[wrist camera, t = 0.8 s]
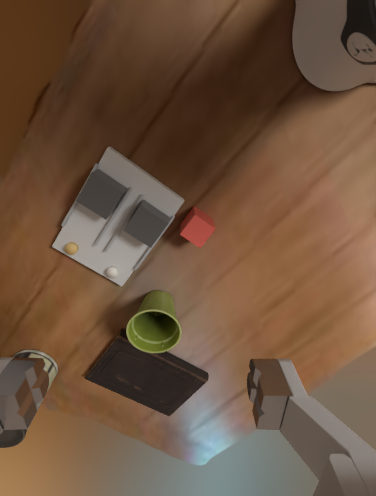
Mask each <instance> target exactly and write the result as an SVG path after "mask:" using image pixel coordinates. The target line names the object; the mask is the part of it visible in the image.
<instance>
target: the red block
mask: <svg viewBox="0 0 376 496" xmlns="http://www.w3.org/2000/svg"><path fill="white" fill-rule="evenodd" d="M214 230H215V226H214V222H213V219H212V218H210V217H209V216H207V215H206V214H205V213H203V212H202V211H200V210H199V209H198V208H196V207H195V206H194V207H193V208H192V209H191V211H190V212H189V213H188V215H187V216H186V217H185V219H184V220H183V221H182V223H181V224H180V235H181V236H183V237H184V238H186V239H187V240H189V241H190V242H192V243H193V244H195V245H196V246H198V247H199V248H201V246H202V245H203V244H204V243H205V241H206V240H207V239H208V238H209V237H210V235H211V234H212V233H213V232H214Z"/></svg>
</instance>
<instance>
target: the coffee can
mask: <svg viewBox="0 0 376 496" xmlns="http://www.w3.org/2000/svg"><path fill="white" fill-rule="evenodd" d="M13 357H23V358H43V359H44V362H45V366H44V368H43V369H44V370H45V371H46V372H47V373H48V375H49V386H48V389H49V387H50V385H51V383H52V381H53V379H54V378H55V376H56V374H57V372H58V367H57V364H56V362H55V361H54V359H53V358H52V357H50V356H49V355H47V354H46V353H44V352H41V351H37V350H22V351H19V352H17V353H16V354H15V355H14V356H13ZM47 391H48V390H47ZM42 401H43V400H42ZM42 401H40V402H39V403H38V404H37V405H36V407H37V410H38V408H39V406H40V404H41V402H42ZM29 426H30V425H29ZM28 428H29V427H28ZM27 430H28V429H18V430H3V432H2V433H1V434H0V448H6V447H12V446H15V445H18V444H19V443H20V442H22V440H23V439H24V437H25V435H26V432H27Z"/></svg>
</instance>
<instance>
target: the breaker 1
mask: <svg viewBox="0 0 376 496" xmlns="http://www.w3.org/2000/svg"><path fill="white" fill-rule="evenodd" d="M126 190H127V188H126V187H125V186H123V185H122V184H120V183H119V182H117V181H116V180H114V179H113V178H111V177H110V176H108V175H107V174H106V173H104V172H103V171H101V170H100V169H98V170H96V171H94V172H92V173H91V175H90V176H89V177H88V179H87V181H86V183H85V184H84V186H83V188H82V190H81V192H80V193H79V196H78V198H77V200H76V201H77V202H78V203H80V204H82V205H83V206H85V207H86V208H88V209H90V210H91V211H93V212H94V213H96V214H98V215H99V216H101V217H102V218H104V219H105V220H106V219H107V218H108V217H109V216H110V215H111V214H112V212H113V211H114V209H115V207H116V206H117V204H118V203H119V201H120V200H121V198H122V196H123V195H124V193H125V192H126Z"/></svg>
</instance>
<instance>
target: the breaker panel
mask: <svg viewBox="0 0 376 496" xmlns="http://www.w3.org/2000/svg"><path fill="white" fill-rule="evenodd" d="M98 169H100V170H101V171H103V172H104V173H106V174H107V175H108V176H110V177H111V178H113V179H114V180H116V181H117V182H119V183H120V184H122V185H123V186H125V187H126V188H127V190H126V192H125V193H124V195H123V196H122V198H121V200H120V201H119V203H118V204H117V206H116V207H115V209H114V211H113V212H112V214H111V215H110V216H109V217H108V218H107V219H106V220H105V219H104V218H102V217H101V216H99V215H98V214H96V213H94V212H93V211H91V210H90V209H88V208H86V207H85V206H83V205H82V204H80V203H78V202H77V201H76V200H77V198H78V196H79V194H78V196H77V198H76V200H75V201H74V203H73V205H72V207H71V209H70V210H69V212H68V214H67V216H66V217H65V219H64V221H63V223H62V225H61V226H63V228H62V229H61V231H60V233H59V235H58V236H57V238H56V240H55V242H54V244H53V245H52V247H53V248H55V249H57V250H59V251H60V252H62V253H64V254H66V255H67V256H69V257H71V258H73V259H74V260H76V261H78V262H80V263H81V264H83V265H85V266H87V267H89V268H90V269H92V270H94V271H96V272H97V273H99V274H101V275H103V276H104V277H106V278H108V279H110V280H111V281H113V282H115V283H117V284H118V285H120V286H123V285H124V283H125V282H126V280H127V279H128V278H129V276H130V275H131V274H132V272H133V271H134V270H137V268H138V267H139V266H140V264H141V263H142V262H143V260H144V259H145V258H146V256H147V255H148V254H149V252H150V251H151V249H152V248H153V247H154V245H155V244H156V243H157V241H158V240H159V239H160V237H161V236H162V235H163V233H164V232H165V230H166V229H167V228H168V226H169V225H170V224H171V222H172V221H173V220H174V218H175V216H174V215H175V214H176V212H177V211H178V209H179V208H180V207H181V205H182V204H183V203H184V198H182V197H181V196H179V195H178V194H177V193H175V192H174V191H172V190H171V189H170V188H168V187H167V186H165V185H164V184H163V183H161V182H160V181H158V180H157V179H155V178H154V177H153V176H151V175H150V174H148V173H147V172H146V171H144V170H143V169H141V168H140V167H139V166H137V165H136V164H134V163H133V162H132V161H130V160H129V159H127V158H126V157H125V156H123V155H122V154H120V153H119V152H118V151H116V150H115V149H113V148H112V147H111V146H110V147H108V148H107V149H106V151H105V153H104V155H103V156H102V158H101V160H100V162H99V164H97V163H96V164H95V166H94V167H93V169H92V171H91V173H92V172H94V171H96V170H98ZM91 173H90V174H89V176H90V175H91ZM89 176H88V177H89ZM87 179H88V178H87ZM86 181H87V180H86ZM85 183H86V182H85ZM85 183H84V184H85ZM83 186H84V185H83ZM82 188H83V187H82ZM81 190H82V189H81ZM80 192H81V191H80ZM80 192H79V193H80ZM143 200H145V201H147V202H148V203H150V204H151V205H153V206H154V207H156V208H157V209H158V210H160V211H161V212H163V213H164V214H166V215H167V216H169V223H168V225H167V226H166V228H165V229H164V230H163V232H162V233H161V235H160V236H159V237H158V239H157V240H156V241H155V243H154V244H153V245H152V247H151V248H150V247H148V246H147V245H145V244H144V243H142V242H140V241H139V240H137V239H136V238H134V237H132V236H131V235H129V234H128V233H126V232H125V231H123V230H124V229H125V227H126V226H127V224H128V222H129V221H130V219H131V218H132V216H133V215H134V213H135V212H136V210H137V209H138V207H139V206H140V204H141V203H142V201H143Z"/></svg>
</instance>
